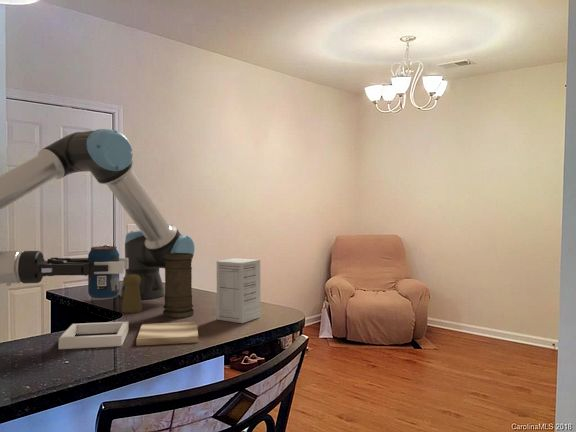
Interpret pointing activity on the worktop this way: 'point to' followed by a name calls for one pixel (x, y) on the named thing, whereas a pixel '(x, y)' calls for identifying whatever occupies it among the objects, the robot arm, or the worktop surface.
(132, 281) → the olive brown rounded figure
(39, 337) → the worktop surface
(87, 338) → the tray
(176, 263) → the container
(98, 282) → the soda can
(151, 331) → the birch board
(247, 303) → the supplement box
